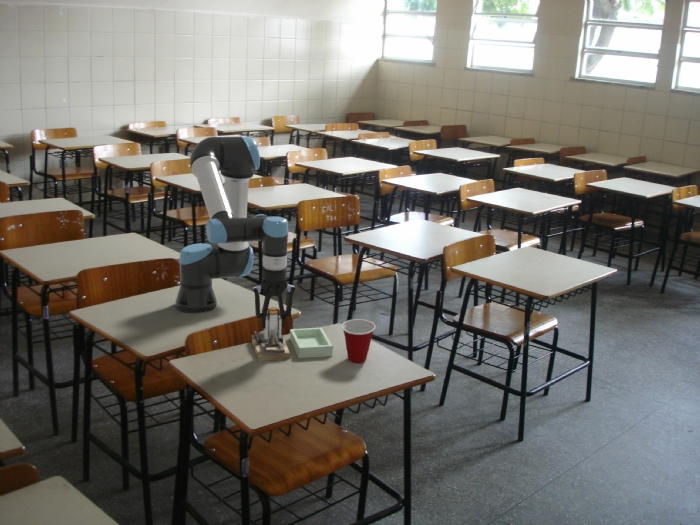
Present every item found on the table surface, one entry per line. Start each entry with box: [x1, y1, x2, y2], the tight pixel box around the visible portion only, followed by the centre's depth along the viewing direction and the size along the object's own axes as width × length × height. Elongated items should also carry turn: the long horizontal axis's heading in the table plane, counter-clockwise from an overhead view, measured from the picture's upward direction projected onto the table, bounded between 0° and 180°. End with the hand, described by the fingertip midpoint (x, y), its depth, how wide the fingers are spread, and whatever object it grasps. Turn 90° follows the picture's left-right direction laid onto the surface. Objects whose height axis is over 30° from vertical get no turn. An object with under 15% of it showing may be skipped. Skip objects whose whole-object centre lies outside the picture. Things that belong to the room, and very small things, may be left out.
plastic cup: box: [341, 318, 376, 364], centre depth 226 cm, size 11×11×12 cm
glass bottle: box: [266, 307, 280, 344], centre depth 225 cm, size 4×4×11 cm
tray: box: [289, 327, 334, 359], centre depth 235 cm, size 16×11×4 cm
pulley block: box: [251, 330, 291, 362], centre depth 231 cm, size 16×10×5 cm, turn 15°
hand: (272, 336), depth 226 cm, fingers closed on glass bottle, 3 cm apart
